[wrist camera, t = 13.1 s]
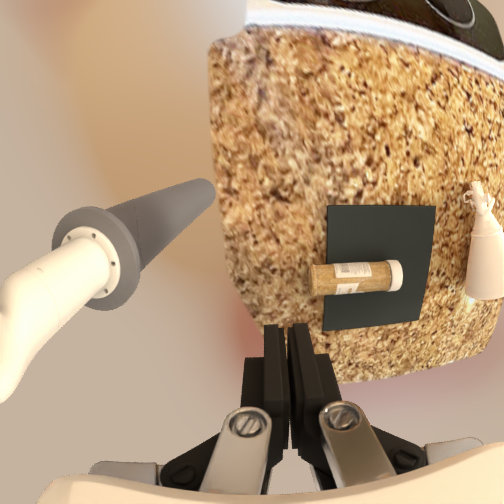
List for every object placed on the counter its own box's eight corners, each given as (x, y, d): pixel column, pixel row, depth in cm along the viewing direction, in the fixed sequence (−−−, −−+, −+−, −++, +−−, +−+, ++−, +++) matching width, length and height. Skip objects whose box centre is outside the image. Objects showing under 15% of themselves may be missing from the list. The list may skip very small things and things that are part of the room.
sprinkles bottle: (311, 301, 37) (402, 295, 36) (311, 268, 36) (405, 263, 35) (307, 290, 41) (390, 284, 40) (307, 260, 40) (392, 256, 39)
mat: (322, 329, 44) (322, 331, 44) (327, 205, 38) (327, 205, 37) (417, 318, 43) (418, 320, 43) (434, 206, 37) (435, 206, 36)
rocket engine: (503, 176, 25) (519, 297, 26) (504, 170, 31) (521, 269, 33) (437, 192, 35) (458, 301, 36) (452, 184, 41) (471, 275, 42)
